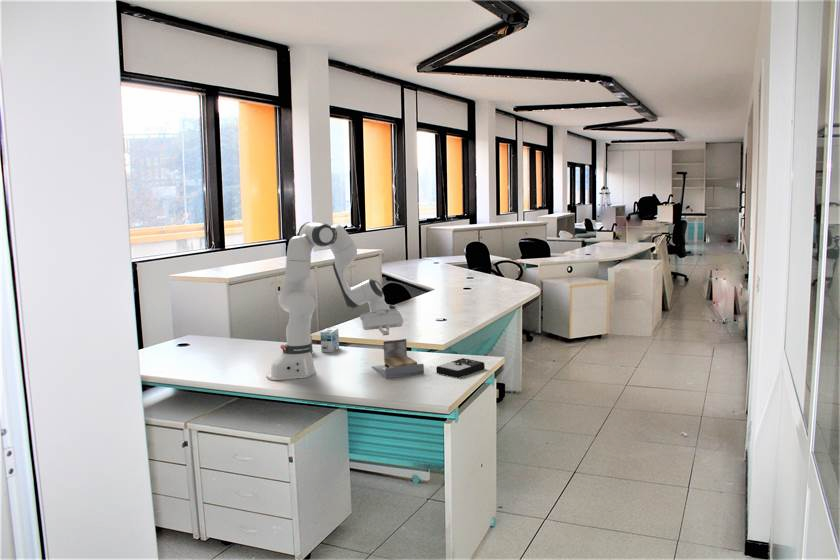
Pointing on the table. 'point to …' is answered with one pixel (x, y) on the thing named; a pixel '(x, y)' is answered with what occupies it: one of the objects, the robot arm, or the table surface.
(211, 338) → the table surface
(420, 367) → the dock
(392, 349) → the open brown box
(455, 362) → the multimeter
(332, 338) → the light bulb box
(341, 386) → the table surface
